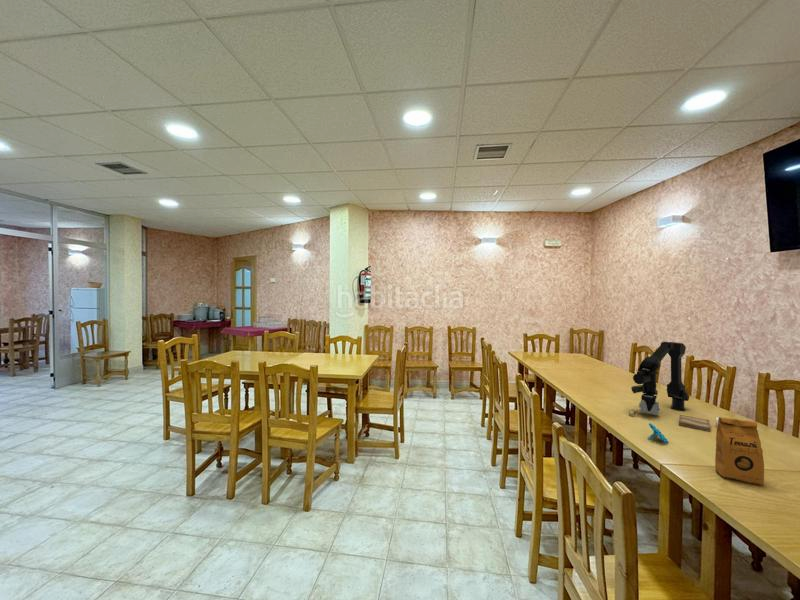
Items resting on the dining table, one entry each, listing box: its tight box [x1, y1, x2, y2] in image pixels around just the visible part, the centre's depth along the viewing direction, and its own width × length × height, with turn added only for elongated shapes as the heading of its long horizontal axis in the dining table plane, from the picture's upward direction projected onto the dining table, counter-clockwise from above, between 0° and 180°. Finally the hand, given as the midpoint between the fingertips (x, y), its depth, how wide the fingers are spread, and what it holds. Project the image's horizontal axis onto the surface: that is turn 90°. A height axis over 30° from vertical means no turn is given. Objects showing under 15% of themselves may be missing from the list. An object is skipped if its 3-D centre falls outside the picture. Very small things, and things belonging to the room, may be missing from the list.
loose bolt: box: [628, 409, 635, 417], centre depth 191 cm, size 7×3×3 cm, turn 139°
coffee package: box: [714, 416, 765, 486], centre depth 126 cm, size 10×12×22 cm
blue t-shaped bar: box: [647, 422, 669, 444], centre depth 159 cm, size 11×6×10 cm
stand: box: [678, 414, 711, 433], centre depth 177 cm, size 14×12×2 cm
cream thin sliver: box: [715, 416, 725, 429], centre depth 172 cm, size 5×5×5 cm
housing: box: [638, 399, 661, 416], centre depth 190 cm, size 5×10×6 cm, turn 49°
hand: (649, 409), depth 190 cm, fingers closed on housing, 5 cm apart
